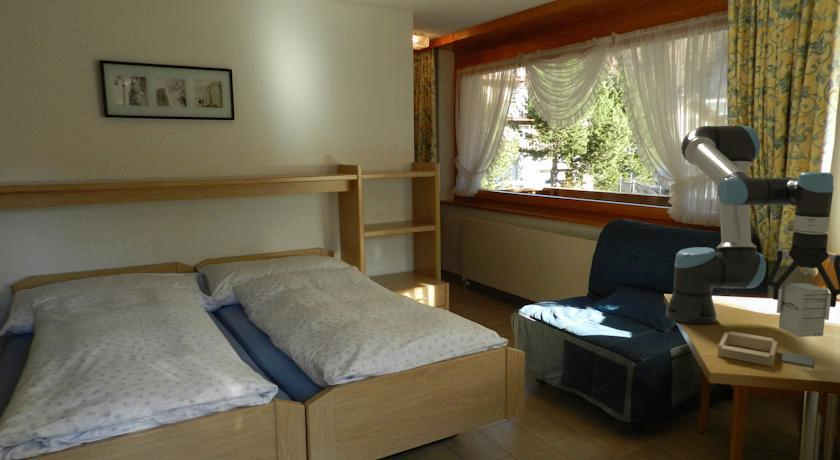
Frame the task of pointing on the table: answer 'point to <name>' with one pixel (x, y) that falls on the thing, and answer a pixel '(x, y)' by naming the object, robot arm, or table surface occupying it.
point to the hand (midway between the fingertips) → (802, 315)
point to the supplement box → (803, 309)
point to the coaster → (797, 359)
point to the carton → (749, 342)
